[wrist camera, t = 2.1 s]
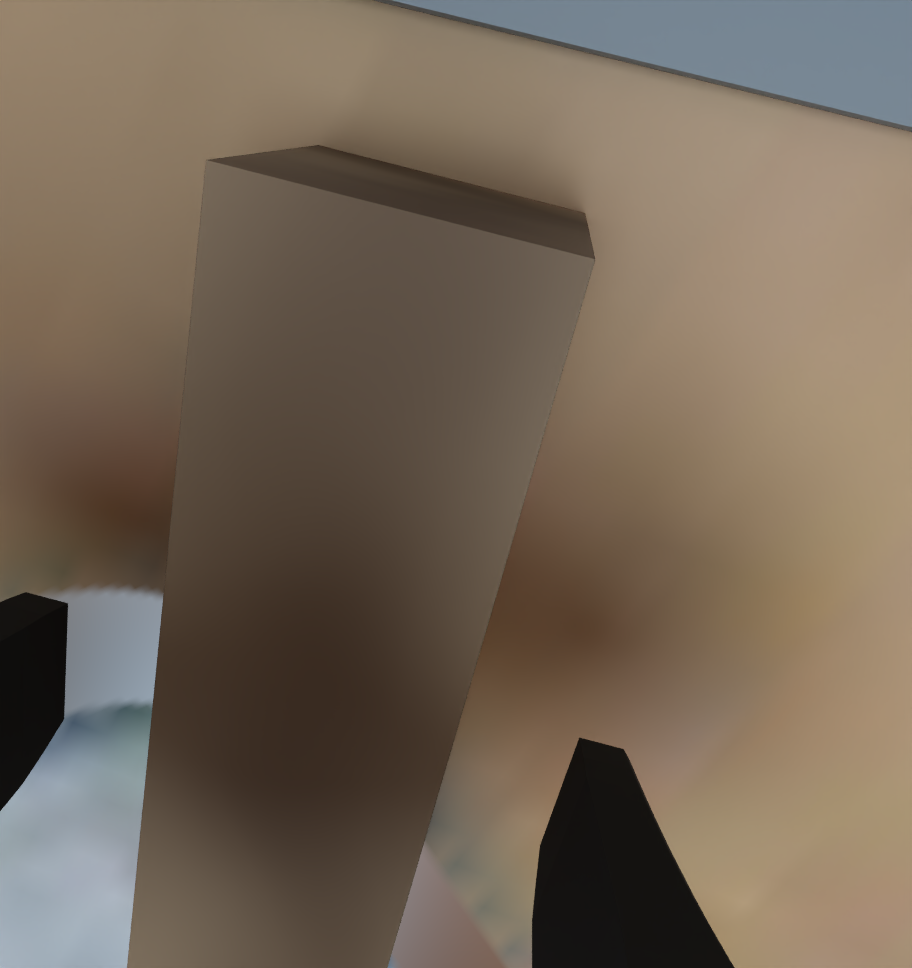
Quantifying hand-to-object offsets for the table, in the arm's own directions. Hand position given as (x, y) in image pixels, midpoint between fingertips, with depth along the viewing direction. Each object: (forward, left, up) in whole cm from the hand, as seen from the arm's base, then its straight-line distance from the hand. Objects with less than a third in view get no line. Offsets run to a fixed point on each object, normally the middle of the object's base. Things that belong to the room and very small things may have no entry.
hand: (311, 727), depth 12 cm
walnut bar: (0, 0, -4) cm, 4 cm away
